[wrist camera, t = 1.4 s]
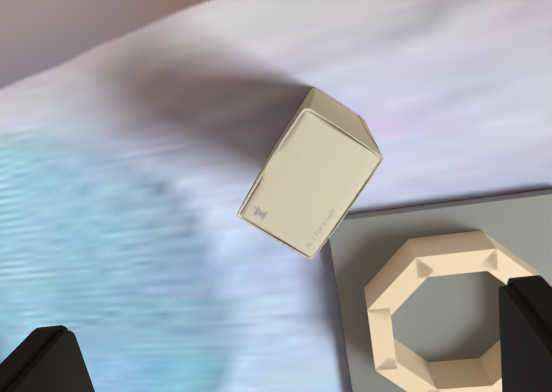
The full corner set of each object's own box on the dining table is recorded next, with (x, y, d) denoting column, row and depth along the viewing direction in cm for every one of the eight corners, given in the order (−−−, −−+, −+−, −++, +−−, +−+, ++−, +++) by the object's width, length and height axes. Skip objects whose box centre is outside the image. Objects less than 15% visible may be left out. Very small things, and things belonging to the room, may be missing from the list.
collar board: (560, 187, 32) (591, 207, 28) (559, 380, 37) (585, 420, 33) (326, 217, 35) (326, 239, 31) (353, 395, 39) (356, 433, 36)
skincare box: (316, 190, 34) (311, 267, 23) (264, 157, 34) (231, 219, 22) (367, 116, 32) (390, 160, 21) (312, 80, 32) (304, 105, 20)
